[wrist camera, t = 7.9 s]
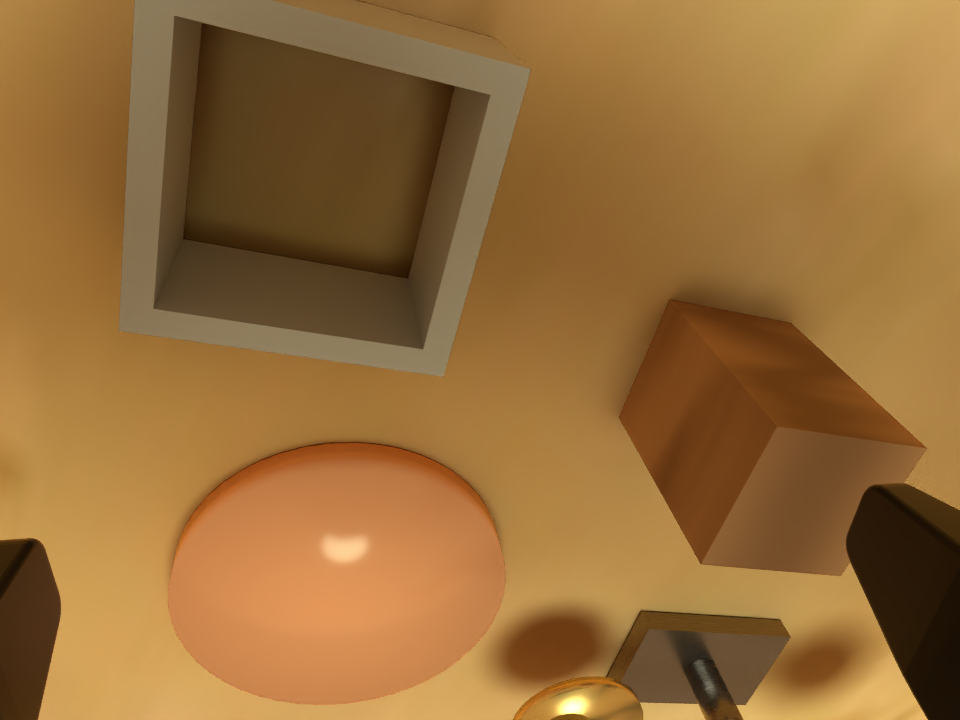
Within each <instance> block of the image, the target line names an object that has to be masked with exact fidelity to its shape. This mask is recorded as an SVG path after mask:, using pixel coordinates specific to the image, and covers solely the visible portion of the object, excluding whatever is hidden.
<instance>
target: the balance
mask: <svg viewBox="0 0 960 720" xmlns="http://www.w3.org/2000/svg"><path fill="white" fill-rule="evenodd" d="M790 638H791V636H790V635H789V633H788V632H787V630H786V628H785V627H784V625H783V624H782V622H781V620H772V619H756V618H740V617H724V616H708V615H692V614H676V613H660V612H644V611H641V613H640V615H639V616H638V618H637V620H636V622H635V624H634V626H633V628H632V630H631V632H630V634H629V636H628V637H627V639H626V641H625V643H624V645H623V647H622V649H621V651H620V653H619V655H618V657H617V658H616V660H615V662H614V664H613V666H612V668H611V670H610V672H609V674H608V676H607V677H581V678H575V679H570V680H567V681H563V682H560V683H557V684H555V685H552V686H550V687H548V688H546V689H544V690H542V691H540V692H539V693H537V694H536V695H534V696H533V697H531V698H530V699H529V700H528V701H527V702H525V703H524V704H523V705H522V707H521V708H520V709H519V710H518V711H517V713H516V714H515V716H514V718H513V720H643V710H642V707H641V705H640V702H646V703H685V704H699V706H700V708H701V711H702V713H703V715H704V717H705V719H706V720H743V718H742V716H741V714H740V712H739V710H738V708H737V706H736V705H746V703H747V702H748V700H749V699H750V697H751V696H752V694H753V693H754V691H755V690H756V688H757V687H758V685H759V684H760V682H761V681H762V679H763V678H764V676H765V675H766V673H767V672H768V670H769V669H770V667H771V666H772V665H773V663H774V662H775V660H776V659H777V657H778V656H779V654H780V653H781V651H782V650H783V648H784V647H785V645H786V644H787V642H788V641H789V639H790Z"/></svg>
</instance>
